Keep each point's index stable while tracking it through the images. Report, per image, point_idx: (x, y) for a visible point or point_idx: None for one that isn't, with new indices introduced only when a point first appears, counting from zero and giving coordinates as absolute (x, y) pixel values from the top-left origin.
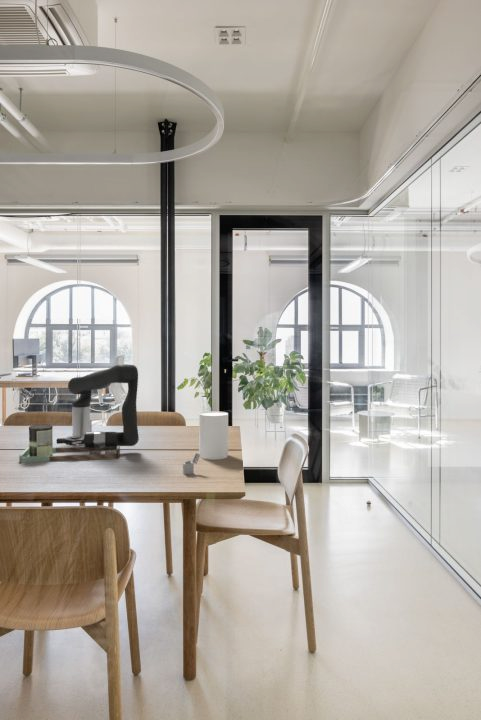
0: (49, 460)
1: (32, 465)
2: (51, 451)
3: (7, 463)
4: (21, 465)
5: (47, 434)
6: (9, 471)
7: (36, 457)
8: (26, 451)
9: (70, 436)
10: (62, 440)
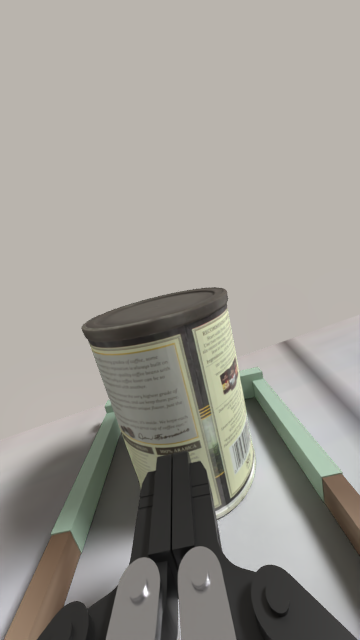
0: None
1: (28, 486)
2: None
3: None
4: (62, 444)
5: (106, 376)
6: (4, 442)
7: (86, 460)
8: None
9: (338, 635)
10: (137, 535)
